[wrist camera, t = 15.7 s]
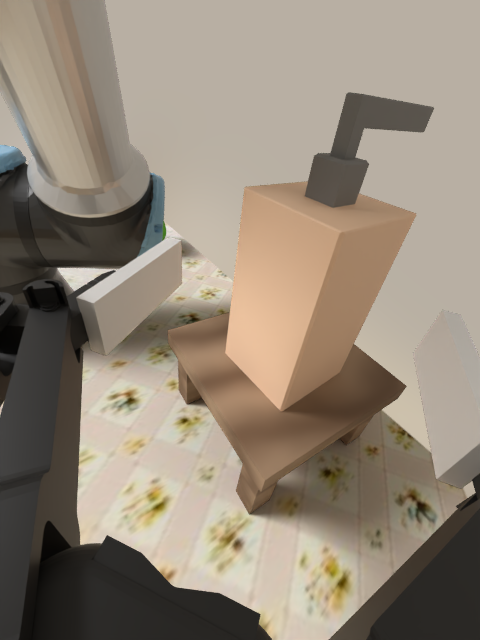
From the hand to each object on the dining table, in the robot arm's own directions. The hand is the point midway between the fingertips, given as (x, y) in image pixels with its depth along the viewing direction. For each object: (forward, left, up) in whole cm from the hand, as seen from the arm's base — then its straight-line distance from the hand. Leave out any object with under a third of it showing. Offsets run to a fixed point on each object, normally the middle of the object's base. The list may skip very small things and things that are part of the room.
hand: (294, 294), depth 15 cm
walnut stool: (-6, +8, -23) cm, 25 cm away
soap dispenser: (-5, +9, -14) cm, 17 cm away
